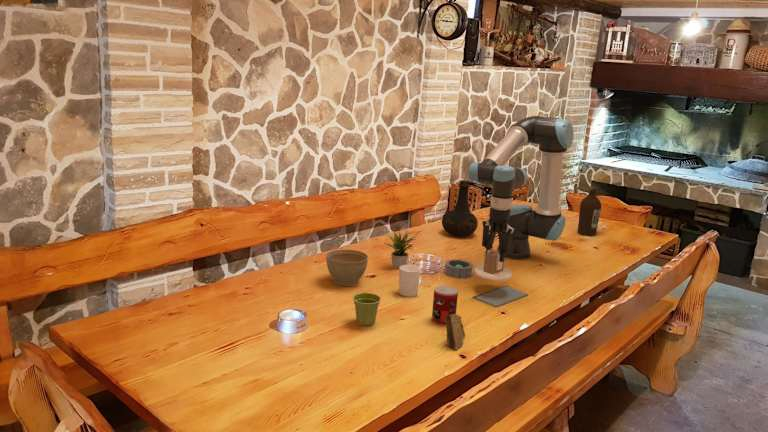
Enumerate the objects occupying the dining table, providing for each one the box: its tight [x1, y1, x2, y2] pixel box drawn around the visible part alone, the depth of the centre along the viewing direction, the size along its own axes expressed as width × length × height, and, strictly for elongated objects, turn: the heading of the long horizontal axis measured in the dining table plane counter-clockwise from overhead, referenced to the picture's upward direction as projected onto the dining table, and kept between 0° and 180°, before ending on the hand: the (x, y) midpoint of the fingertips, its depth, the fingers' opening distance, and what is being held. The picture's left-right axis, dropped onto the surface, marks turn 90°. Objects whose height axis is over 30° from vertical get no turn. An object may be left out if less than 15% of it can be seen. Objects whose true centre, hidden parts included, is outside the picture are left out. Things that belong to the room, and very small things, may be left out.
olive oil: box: [577, 186, 602, 237], centre depth 326 cm, size 11×11×25 cm
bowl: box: [444, 259, 474, 279], centre depth 254 cm, size 11×11×5 cm
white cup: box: [398, 264, 422, 298], centre depth 232 cm, size 8×8×10 cm
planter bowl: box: [325, 249, 369, 287], centre depth 239 cm, size 16×16×11 cm
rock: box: [445, 313, 466, 352], centre depth 195 cm, size 11×9×10 cm
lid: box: [473, 250, 513, 282], centre depth 235 cm, size 14×14×8 cm
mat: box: [471, 285, 529, 308], centre depth 238 cm, size 20×20×1 cm
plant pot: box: [352, 292, 382, 327], centre depth 205 cm, size 9×9×9 cm
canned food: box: [431, 285, 459, 325], centre depth 210 cm, size 8×8×11 cm
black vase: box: [441, 179, 479, 238], centre depth 309 cm, size 18×18×28 cm
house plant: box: [385, 230, 418, 269], centre depth 256 cm, size 14×14×16 cm
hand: (493, 267), depth 236 cm, fingers closed on lid, 4 cm apart
